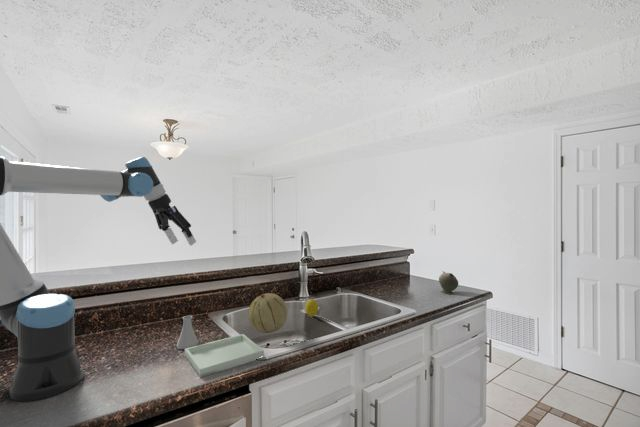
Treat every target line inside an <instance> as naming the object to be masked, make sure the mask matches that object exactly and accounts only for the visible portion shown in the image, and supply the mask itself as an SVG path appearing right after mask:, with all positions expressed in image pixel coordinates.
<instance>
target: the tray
mask: <svg viewBox="0 0 640 427" xmlns="http://www.w3.org/2000/svg"><path fill="white" fill-rule="evenodd" d="M264 351H265V349H263V348H261V347H260V346H259V345H258V344H256V343H255V342H254V341H253V340H251V339H250V338H249V337H247V335H245V334H244V333H242V334H237V335H233V336H230V337H226V338H222V339H218V340H213V341H209V342H207V343H203V344H198V345H197V346H194V347H190V348H186V349H184V357H185V359H186V360H187V361H188V363H189V364H190V366H191V367H192V369H194V370H193V371H194V372H195V373H196V374H197V376H198V377H199V378H200V377H201V378H203V377H207V376H210V375H213V373H214V374H216V372H217V373H219V372H223V371H225V370H229V369H232V368H235V367H238V366H242V365H245V364H248V363H251V362H254V361H257V360H256V359H257V358H259V357H261V356H264V355H265V353H264ZM264 357H265V356H264Z"/></svg>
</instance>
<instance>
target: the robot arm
mask: <svg viewBox="0 0 640 427" xmlns="http://www.w3.org/2000/svg"><path fill="white" fill-rule="evenodd" d="M125 168H126V169H124V170H122V171H117V170H116V171H114V170H105V169H96V168H95V169H93V168H83V167H74V166H72V167H71V166H70V167H69V166H62V165H50V164H41V163H31V162H23V161H19V162H18V161H10V160H8V159H7V158H5V157H4V156H1V155H0V196H3V195H5V194H7V193H9V192H10V193H11V192H12V193H35V194H36V193H37V194H38V193H39V194H61V195H62V194H63V195H64V194H65V195H66V194H69V195H90V196H91V195H92V196H97V195H98V196H100V197H101V198H102V199H103V200H104V201H105V202H113V201H115V200H118V199H119V198H122V197H123V198H124V197H136V198H137V197H139V198H142V197H143V198H144V199H145V201H147V203H148V205H149V207H150V208H151V210H152V213H153V215H154V217H155V220H156V224H157V227H158V229H159V230H162V231H163V232H164V234H165V235H166V237H167V239H168V241H169V242H170V244H171V245H174V244H175V243H178V241H179V240H178V238H177V236H176V235H175V233H174V230H173V229H172V228H171V225H169V221H171V222H172V223H174V225H176V226H177V227H178V228H180V229H181V232H182V234H183V236H184V238H185V239H186V241H187V243H188V244H189V246H193V245H194V244H196V243H197V240H196V238H195V237H194V235H193V232H191V229H190V228H191V227H192V224H191V223H190V222H189V221H188V220H187V219H186V218H185V217H184V216H183V215H182V213H181V212H180V211H179V210H178V208H177V206H176V205H173V206H171V205H170V204H171V202H172V199H171V198H170V196H169V195H168V193H167V192H166V190H165V188H164V185H163V184H162V182H161V181H160V179H159V177H158V175H157V173H156V172H155V170H154V168H153V166H152V165H151V163H150V161H149V160H148V158H147V157H145V156H141V157H137V158H134V159H132V160H129V161H127V162H126V163H125ZM18 252H19V251H17V249H16V248H15V246H14V243H13V242H12V241H11V238H10V237H9V236H8V234H7V232H6V230H5V229H4V227H3V225H2V224H1V223H0V323H1V324H2V325H3V327H4V328H5V329H6V330H8V331H10V332H11V333H12V334H14V335H15V337H16V338H17V355H18V358H17V359H18V364H17V367H16V369H15V373H14V376H13V379H12V381H11V383H10V386H9V398H10V399H12V400H13V401H18V402H32V401H37V400H38V401H39V400H43V399H46V398H50V397H54V396H57V395H59V394H61V393H63V392H66V391H68V390H70V389H72V388H73V387H74V386H77V385H78V384H79V383H80V382H81V381H82V380H83V378H84V367H83V365H82V364H81V361H80V358H79V356H78V354H77V351H76V346H75V344H76V340H75V339H76V338H75V337H76V335H75V334H76V332H75V311H76V307H75V302H74V299H73V298H72V297H71V296H69V295H67V294H63V293H59V294H58V293H51V292H50V291H49V289H48V287H47V286H46V285H45V283H44V281H42V280H38V279H34V278H33V276H32V274H31V272H30V271H29V269H28V267H27V266H26V264H25V263H24V261H23V259H22V257H21V255H20V254H19V253H18Z"/></svg>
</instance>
